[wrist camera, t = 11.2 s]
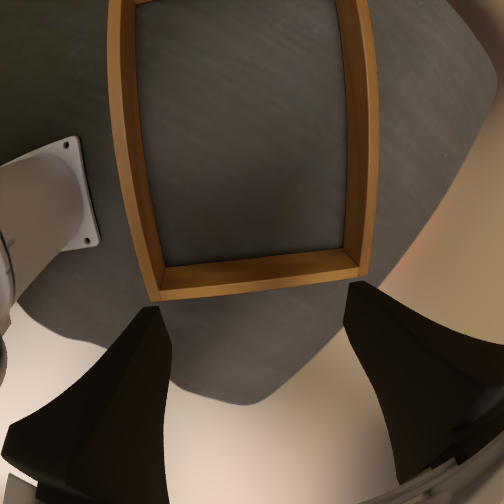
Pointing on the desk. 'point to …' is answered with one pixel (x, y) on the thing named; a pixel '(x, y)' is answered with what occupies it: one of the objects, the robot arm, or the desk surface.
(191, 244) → the desk surface
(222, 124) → the desk surface
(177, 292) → the wooden frame
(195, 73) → the desk surface
